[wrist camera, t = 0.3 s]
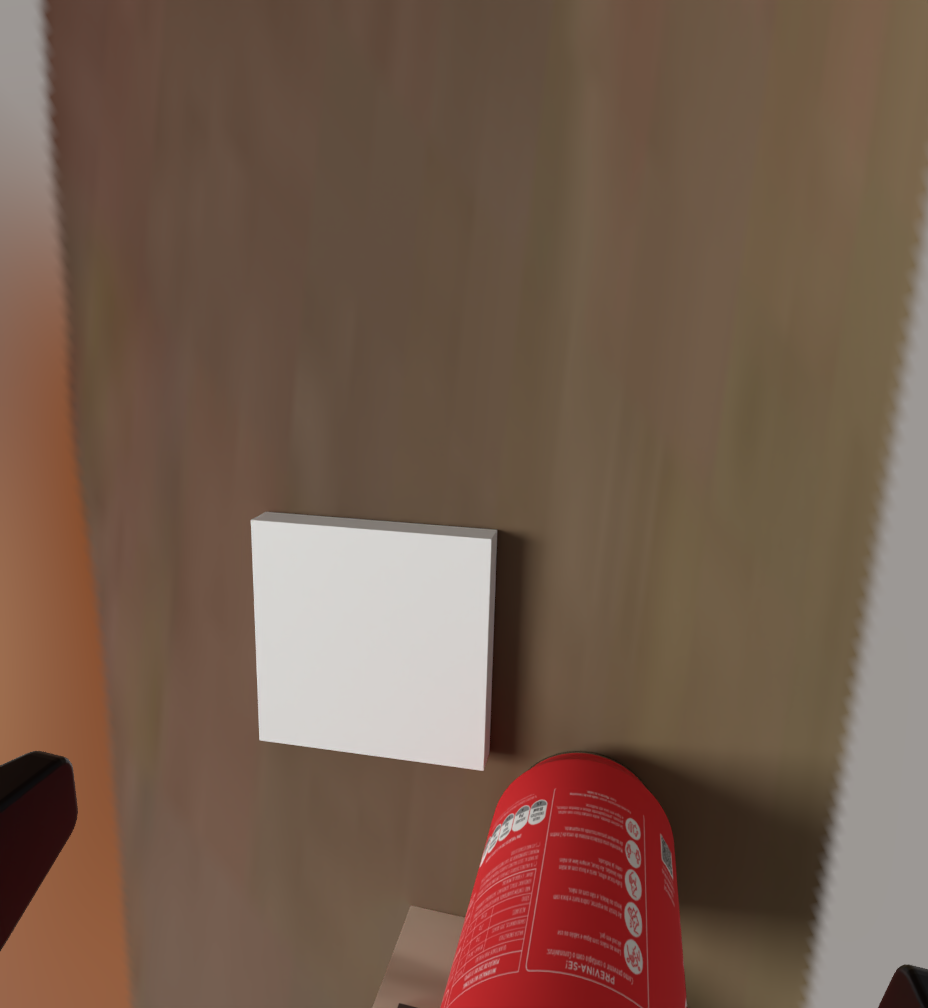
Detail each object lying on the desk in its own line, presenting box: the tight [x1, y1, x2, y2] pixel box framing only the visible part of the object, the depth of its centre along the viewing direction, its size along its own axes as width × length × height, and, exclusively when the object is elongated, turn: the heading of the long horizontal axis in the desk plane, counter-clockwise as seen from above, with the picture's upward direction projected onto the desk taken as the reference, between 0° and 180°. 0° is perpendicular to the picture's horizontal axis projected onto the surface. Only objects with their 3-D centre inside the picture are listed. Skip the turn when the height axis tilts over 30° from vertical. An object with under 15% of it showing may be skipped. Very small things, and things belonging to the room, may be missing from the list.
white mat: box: [251, 512, 497, 771], centre depth 23 cm, size 7×7×1 cm
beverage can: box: [440, 752, 687, 1008], centre depth 18 cm, size 5×5×12 cm
